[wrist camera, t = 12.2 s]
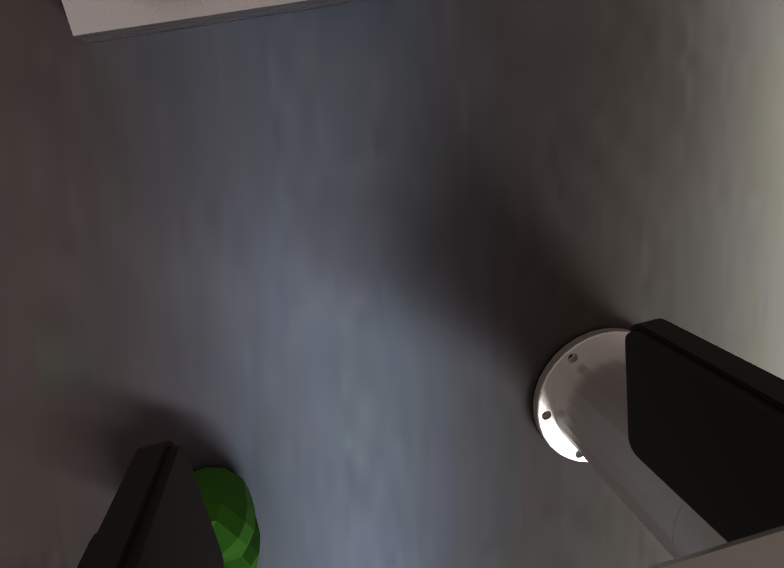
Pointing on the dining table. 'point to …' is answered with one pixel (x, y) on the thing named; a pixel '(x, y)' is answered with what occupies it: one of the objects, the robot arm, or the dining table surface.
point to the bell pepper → (231, 516)
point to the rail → (169, 14)
